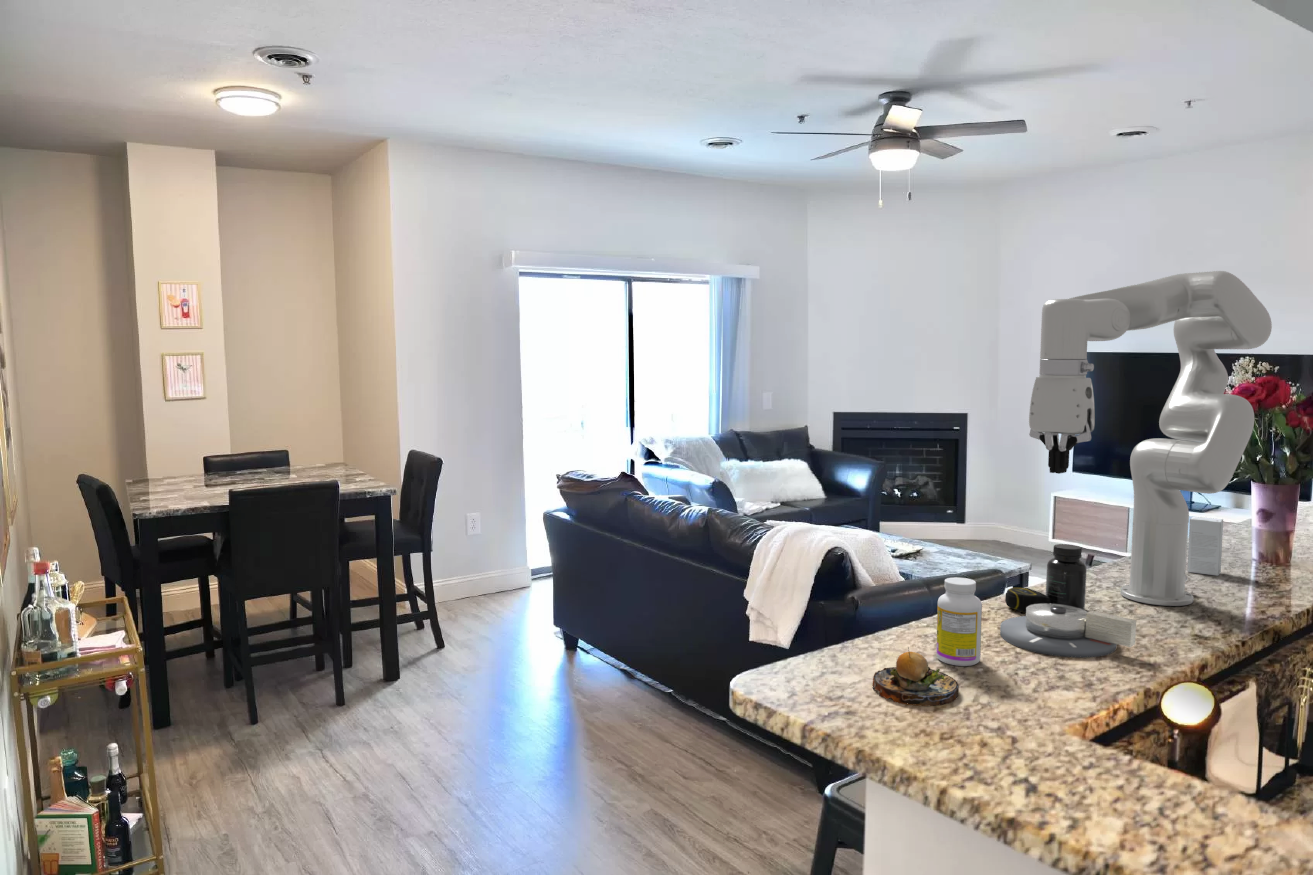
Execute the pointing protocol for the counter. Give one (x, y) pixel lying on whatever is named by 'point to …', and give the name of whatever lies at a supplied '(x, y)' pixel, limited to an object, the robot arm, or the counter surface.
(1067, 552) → the supplement bottle
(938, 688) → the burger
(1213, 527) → the skincare box
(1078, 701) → the counter surface
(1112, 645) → the base plate
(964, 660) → the supplement bottle
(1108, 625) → the dial
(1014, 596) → the tape measure
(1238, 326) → the robot arm
